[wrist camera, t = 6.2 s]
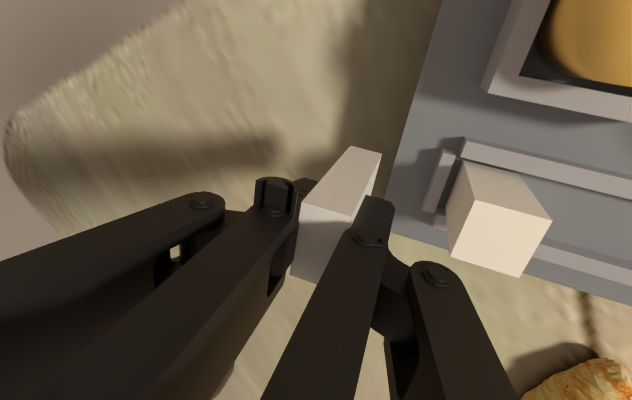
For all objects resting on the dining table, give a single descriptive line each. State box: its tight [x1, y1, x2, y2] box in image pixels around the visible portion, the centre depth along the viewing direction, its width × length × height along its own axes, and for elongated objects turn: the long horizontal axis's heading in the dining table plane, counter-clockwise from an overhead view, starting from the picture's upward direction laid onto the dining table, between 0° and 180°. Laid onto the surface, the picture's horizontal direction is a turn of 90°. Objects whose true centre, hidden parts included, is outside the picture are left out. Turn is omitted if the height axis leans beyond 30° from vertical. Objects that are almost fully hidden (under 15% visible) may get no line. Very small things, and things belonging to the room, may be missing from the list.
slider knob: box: [445, 160, 552, 278], centre depth 14 cm, size 3×3×5 cm
